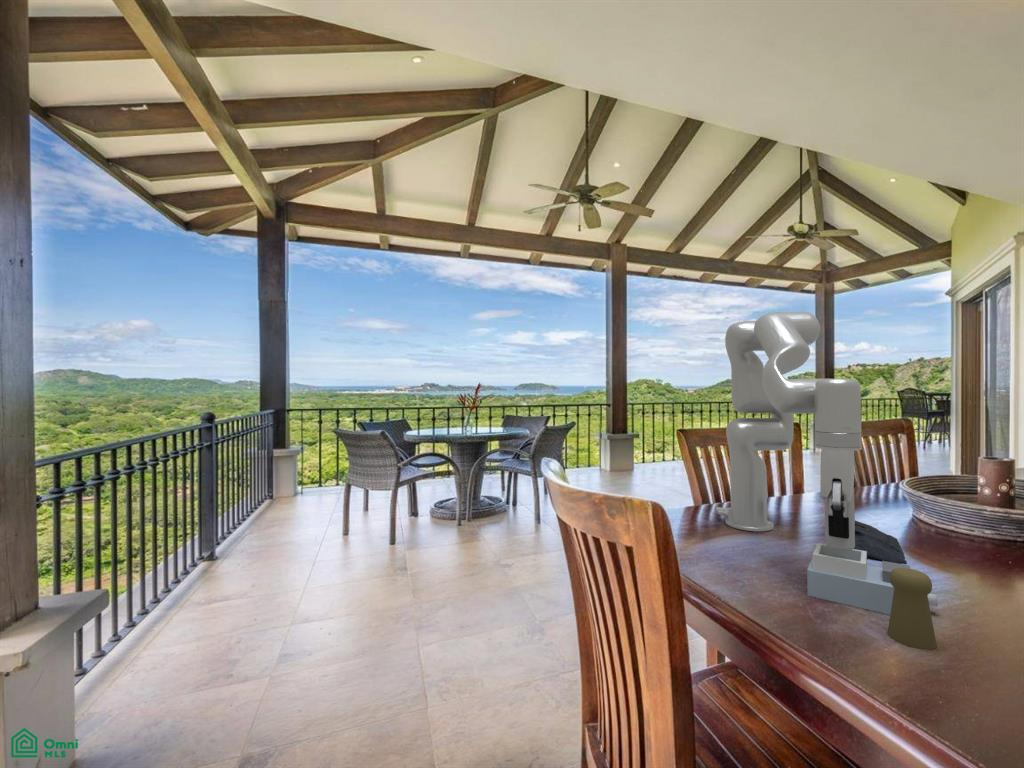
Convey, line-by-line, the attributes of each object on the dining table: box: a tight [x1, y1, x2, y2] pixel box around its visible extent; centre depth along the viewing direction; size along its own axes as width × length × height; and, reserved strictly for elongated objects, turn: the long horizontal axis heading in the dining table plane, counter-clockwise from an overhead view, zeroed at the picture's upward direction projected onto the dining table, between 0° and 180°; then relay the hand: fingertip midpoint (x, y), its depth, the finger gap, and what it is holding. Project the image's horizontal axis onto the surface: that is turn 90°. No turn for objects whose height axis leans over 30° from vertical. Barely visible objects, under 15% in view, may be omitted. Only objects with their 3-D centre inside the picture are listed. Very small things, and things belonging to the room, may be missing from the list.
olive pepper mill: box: [887, 568, 938, 650], centre depth 74 cm, size 6×6×11 cm
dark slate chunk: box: [853, 519, 908, 565], centre depth 117 cm, size 15×22×5 cm
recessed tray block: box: [806, 542, 939, 616], centre depth 88 cm, size 19×10×8 cm, turn 51°
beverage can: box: [823, 485, 856, 551], centre depth 91 cm, size 5×5×12 cm
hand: (839, 532), depth 91 cm, fingers closed on beverage can, 4 cm apart
